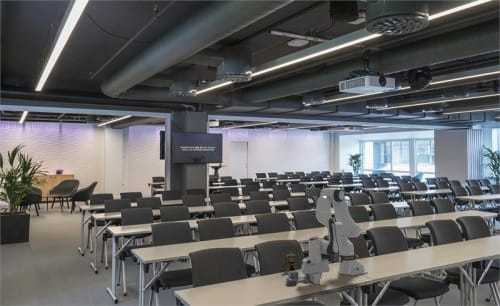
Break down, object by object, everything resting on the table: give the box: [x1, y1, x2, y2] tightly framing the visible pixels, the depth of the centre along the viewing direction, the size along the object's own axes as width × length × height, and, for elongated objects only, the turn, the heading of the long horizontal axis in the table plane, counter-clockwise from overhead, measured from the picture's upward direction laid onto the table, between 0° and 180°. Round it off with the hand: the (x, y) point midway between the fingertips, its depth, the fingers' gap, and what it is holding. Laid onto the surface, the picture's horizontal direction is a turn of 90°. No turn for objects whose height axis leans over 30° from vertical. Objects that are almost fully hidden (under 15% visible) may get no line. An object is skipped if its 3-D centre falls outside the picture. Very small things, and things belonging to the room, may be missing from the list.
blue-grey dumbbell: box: [285, 270, 312, 283], centre depth 289 cm, size 22×7×7 cm, turn 101°
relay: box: [286, 278, 298, 287], centre depth 280 cm, size 6×4×4 cm, turn 100°
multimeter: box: [282, 245, 301, 274], centre depth 314 cm, size 15×10×20 cm
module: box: [311, 273, 321, 285], centre depth 282 cm, size 4×5×7 cm
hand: (315, 279), depth 282 cm, fingers closed on module, 4 cm apart
